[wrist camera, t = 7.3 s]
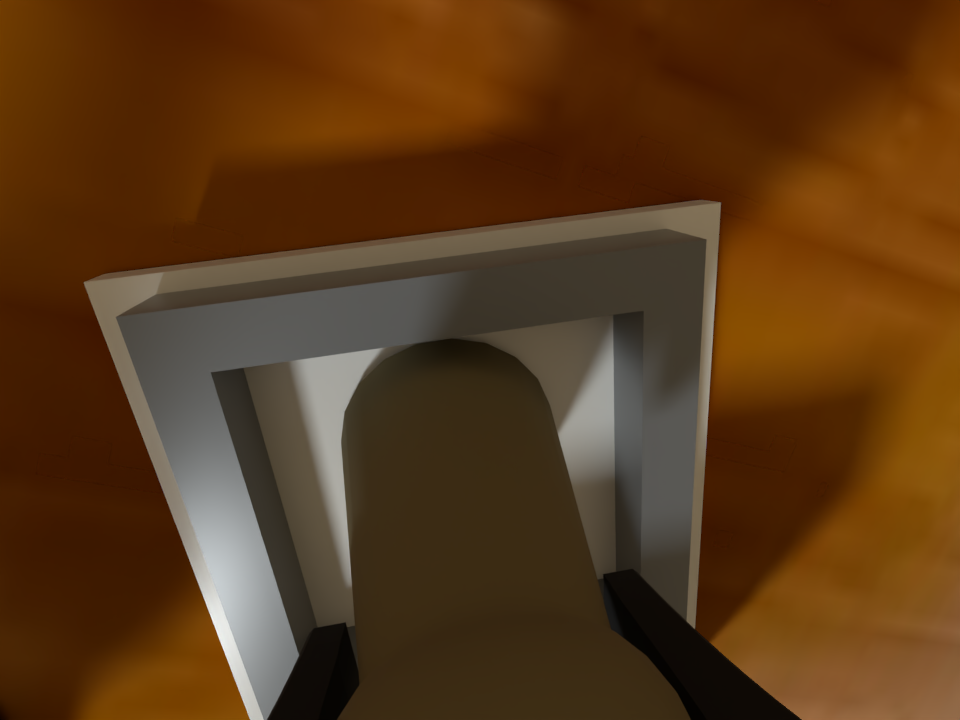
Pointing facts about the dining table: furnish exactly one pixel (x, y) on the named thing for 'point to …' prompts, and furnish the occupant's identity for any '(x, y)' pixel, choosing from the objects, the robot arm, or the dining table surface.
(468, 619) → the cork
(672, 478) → the socket block
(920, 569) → the dining table surface
